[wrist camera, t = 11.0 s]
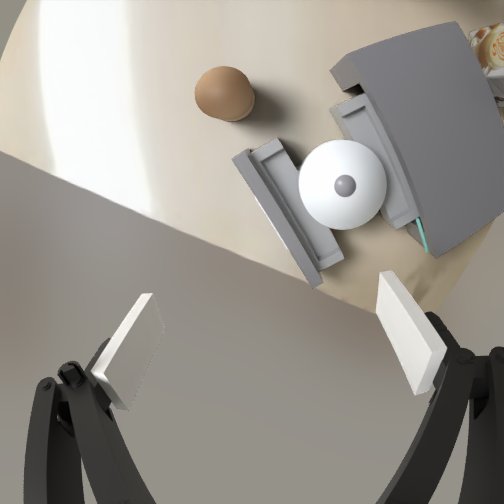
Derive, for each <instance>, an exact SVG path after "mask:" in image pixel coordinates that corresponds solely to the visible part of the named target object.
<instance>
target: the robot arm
mask: <svg viewBox="0 0 504 504" xmlns="http://www.w3.org/2000/svg"><path fill="white" fill-rule="evenodd" d="M376 314H377V315H378V317H379V319H380V321H381V323H382V325H383V327H384V329H385V331H386V333H387V335H388V338H389V339H390V342H391V344H392V346H393V348H394V350H395V352H396V354H397V357H398V359H399V361H400V363H401V365H402V367H403V370H404V372H405V374H406V377H407V379H408V381H409V383H410V386H411V388H412V390H413V393H414V395H418V394H422V393H425V392H428V391H429V389H430V387H431V385H432V383H433V384H434V387H435V389H436V390H435V392H434V394H433V396H432V398H431V399H430V402H429V403H430V404H429V407H428V409H427V411H426V414H425V416H424V419H423V421H422V423H421V425H420V427H419V429H418V432H417V434H416V436H415V438H414V440H413V442H412V444H411V446H410V448H409V450H408V452H407V454H406V455H405V457H404V459H403V461H402V463H401V464H400V466H399V468H398V470H397V471H396V473H395V475H394V476H393V478H392V480H391V481H390V483H389V484H388V486H387V488H386V489H385V491H384V492H383V494H382V495H381V497H380V498H379V499H378V501H377V502H376V504H428V502H429V501H430V499H431V497H432V495H433V493H434V491H435V489H436V487H437V485H438V483H439V481H440V479H441V477H442V475H443V472H444V470H445V468H446V465H447V463H448V461H449V458H450V456H451V453H452V451H453V448H454V445H455V443H456V440H457V437H458V434H459V431H460V428H461V425H462V422H463V418H464V415H465V411H466V408H467V404H468V400H469V403H470V404H469V406H470V408H469V435H468V446H467V456H466V464H465V471H464V477H463V483H462V488H461V493H460V498H459V502H458V504H504V347H495V348H493V349H492V350H491V352H490V354H489V356H475V354H474V353H473V352H472V351H470V350H468V349H466V348H460V346H459V345H458V343H457V342H456V340H455V339H454V337H453V336H452V334H451V333H450V332H449V330H447V327H446V326H445V325H444V324H443V322H442V321H441V319H440V318H439V317H438V316H437V315H436V314H434V313H433V312H426V313H423V311H422V310H421V308H420V307H419V306H418V304H417V303H416V302H415V300H414V299H413V297H412V296H411V295H410V293H409V292H408V291H407V289H406V288H405V287H404V285H403V284H402V283H401V282H400V280H399V279H398V278H397V276H396V275H395V274H394V273H393V271H392V270H391V271H384V272H380V276H379V287H378V297H377V305H376ZM165 330H166V329H165V326H164V323H163V321H162V318H161V315H160V312H159V310H158V307H157V304H156V301H155V298H154V295H153V293H148V294H142V295H141V296H140V297H139V299H138V300H137V302H136V303H135V304H134V306H133V308H132V309H131V310H130V312H129V313H128V315H127V316H126V318H125V319H124V320H123V322H122V323H121V325H120V326H119V328H118V330H117V331H116V332H115V334H114V335H113V337H112V338H108V339H107V340H106V341H104V342H103V343H102V344H101V346H100V347H99V349H98V351H97V352H96V353H95V355H94V357H93V358H92V359H91V361H90V363H89V364H88V366H87V367H86V369H85V371H83V369H82V368H81V366H80V365H79V363H78V362H76V361H70V362H67V363H65V364H63V365H62V366H61V367H60V369H59V370H58V376H59V378H60V379H61V380H62V382H63V384H57V383H56V381H55V380H54V378H52V377H47V378H44V379H43V380H41V381H40V382H39V383H38V385H37V388H36V393H35V397H34V402H33V407H32V412H31V417H30V424H29V430H28V437H27V445H26V454H25V467H24V504H85V501H84V493H83V483H82V470H81V458H82V461H83V464H84V468H85V471H86V474H87V477H88V480H89V482H90V485H91V488H92V491H93V493H94V496H95V498H96V501H97V503H98V504H156V503H155V501H154V499H153V497H152V496H151V494H150V492H149V491H148V489H147V487H146V485H145V483H144V482H143V480H142V478H141V476H140V474H139V472H138V470H137V468H136V466H135V464H134V462H133V460H132V458H131V456H130V454H129V451H128V449H127V447H126V445H125V442H124V440H123V438H122V435H121V433H120V431H119V428H118V426H117V423H116V421H115V418H114V415H113V413H112V410H111V409H110V408H109V406H110V403H111V402H112V403H113V404H114V406H115V407H116V408H117V409H122V410H127V411H129V410H130V408H131V405H132V403H133V401H134V398H135V396H136V394H137V392H138V389H139V387H140V385H141V383H142V380H143V378H144V376H145V373H146V371H147V369H148V367H149V365H150V363H151V360H152V358H153V356H154V354H155V351H156V349H157V347H158V345H159V343H160V341H161V339H162V337H163V335H164V332H165ZM57 416H58V419H57Z"/></svg>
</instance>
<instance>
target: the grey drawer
mask: <svg viewBox="0 0 504 504" xmlns="http://www.w3.org/2000/svg"><path fill="white" fill-rule="evenodd" d="M329 110H330V112H331V114H332V116H333V117H334V119H335V121H336V122H337V124H338V126H339V128H340V129H341V131H342V133H343V135H344V137H345V139H346V140H349V141H354V142H358V143H360V144H362V145H364V146H366V147H367V148H369V149H370V150H371V151H373V152H374V154H375V155H376V156H377V157H378V158H379V160H380V161H381V163H382V165H383V168H384V170H385V174H386V180H387V189H386V195H385V199H384V201H383V204H382V206H381V208H380V212H381V214H382V216H383V219H384V220H385V221H387V222H388V223H389V224H390V225H391V226H392V227H393V228H395V229H396V230H397V229H399V228H401V227H402V226H404V225H406V224H407V223H409V222H411V221H413V220H414V219H415V218H418V217H419V216H420V215H419V212H418V209H417V206H416V203H415V200H414V198H413V195H412V192H411V189H410V187H409V184H408V182H407V179H406V176H405V174H404V171H403V169H402V167H401V164H400V162H399V160H398V157H397V155H396V153H395V150H394V148H393V146H392V144H391V142H390V140H389V137H388V135H387V133H386V131H385V129H384V127H383V125H382V123H381V121H380V119H379V117H378V115H377V114H376V112H375V110H374V108H373V106H372V104H371V103H370V101H369V99H368V97H367V95H366V94H365V93H363V94H360V95H358V96H355V97H353V98H351V99H349V100H347V101H344V102H342V103H340V104H338V105H336V106H334V107H332V108H330V109H329ZM232 161H233V163H234V164H235V166H236V167H237V169H238V170H239V172H240V173H241V175H242V176H243V178H244V179H245V181H246V182H247V184H248V186H249V187H250V189H251V190H252V192H253V193H254V195H255V196H254V198H255V199H256V201H257V202H258V204H259V205H260V207H261V208H262V210H263V212H264V213H265V215H266V216H267V218H268V220H269V221H270V223H271V224H272V226H273V228H274V229H275V231H276V232H277V234H278V236H279V237H280V239H281V240H282V242H283V244H284V245H285V247H286V249H287V250H289V251H290V253H291V254H292V256H293V257H294V259H295V261H296V262H297V264H298V266H299V267H300V269H301V271H302V272H303V274H304V276H305V277H306V279H307V281H308V282H309V284H310V286H311V287H312V288H315V287H316V286H318V285H320V284H322V283H323V280H322V277H321V274H320V271H322V270H324V269H326V268H328V267H330V266H332V265H333V264H335V263H337V262H339V261H341V260H343V259H345V258H344V256H343V254H342V252H341V250H340V248H339V246H338V244H337V242H336V240H335V238H334V236H333V234H332V232H331V231H330V229H329V227H327V226H325V225H323V224H321V223H319V222H318V221H316V220H315V219H314V218H313V217H312V216H311V215H310V214H309V212H308V211H307V209H306V208H305V206H304V204H303V202H302V199H301V197H300V194H299V190H298V174H299V170H300V167H301V164H300V165H299V166H297V167H295V166H294V164H293V163H292V161H291V159H290V158H289V156H288V154H287V153H286V151H285V150H284V148H283V146H282V144H281V143H280V141H279V140H278V138H277V137H276V138H275V139H273V140H271V141H269V142H268V143H266V144H264V145H262V146H261V147H259V148H257V149H256V150H254V151H252V152H250V150H249V149H246V150H244V151H243V152H241V153H239V154H238V155H236V156H235V157H234V158H232Z"/></svg>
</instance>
